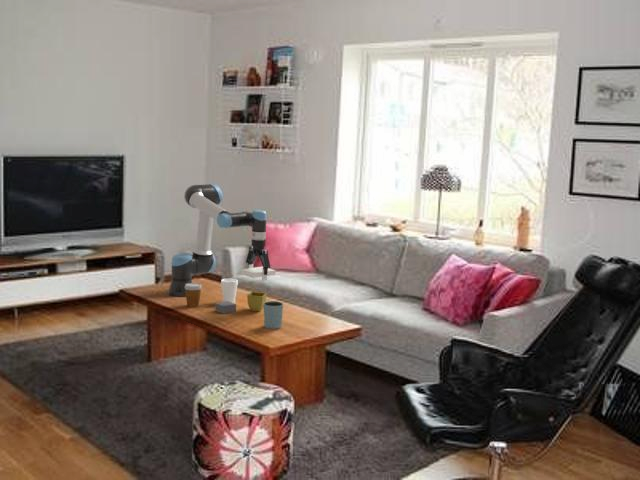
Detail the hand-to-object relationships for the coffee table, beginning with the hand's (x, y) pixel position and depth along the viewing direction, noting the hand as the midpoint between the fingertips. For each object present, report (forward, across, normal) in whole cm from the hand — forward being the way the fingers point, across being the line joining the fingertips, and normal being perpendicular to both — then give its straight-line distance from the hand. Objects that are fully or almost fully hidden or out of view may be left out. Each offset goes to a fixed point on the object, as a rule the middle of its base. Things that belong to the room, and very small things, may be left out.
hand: (257, 278), depth 395 cm
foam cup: (+18, -21, -4) cm, 28 cm away
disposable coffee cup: (+18, -25, -25) cm, 40 cm away
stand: (+18, -7, -16) cm, 25 cm away
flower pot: (+18, 0, 0) cm, 18 cm away
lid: (-2, 0, 0) cm, 2 cm away
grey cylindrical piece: (+18, +30, -12) cm, 37 cm away
